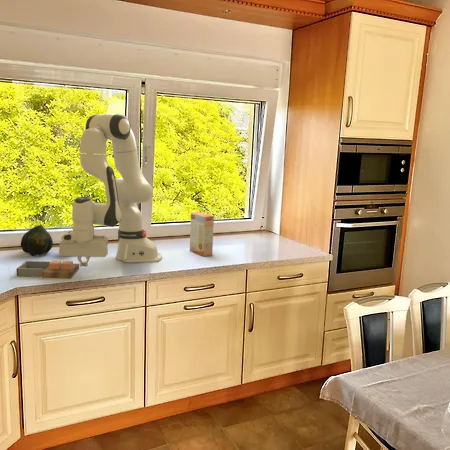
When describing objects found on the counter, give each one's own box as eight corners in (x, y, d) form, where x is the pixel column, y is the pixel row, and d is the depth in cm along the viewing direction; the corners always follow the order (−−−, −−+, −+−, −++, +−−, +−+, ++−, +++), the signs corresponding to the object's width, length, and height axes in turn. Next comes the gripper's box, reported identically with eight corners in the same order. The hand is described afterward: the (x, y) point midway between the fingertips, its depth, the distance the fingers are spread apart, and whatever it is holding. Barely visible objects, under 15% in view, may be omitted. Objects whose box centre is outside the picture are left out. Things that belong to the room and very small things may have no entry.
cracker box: (213, 255, 248) (214, 215, 244) (203, 257, 245) (204, 216, 241) (199, 249, 259) (200, 211, 255) (189, 250, 256) (190, 212, 252)
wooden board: (79, 268, 216) (79, 263, 216) (71, 278, 202) (71, 272, 202) (52, 268, 215) (51, 263, 215) (42, 277, 202) (42, 272, 201)
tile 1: (61, 266, 210) (61, 260, 210) (58, 269, 206) (58, 263, 206) (52, 266, 210) (51, 260, 210) (49, 268, 206) (49, 263, 206)
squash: (15, 248, 226) (36, 223, 228) (14, 242, 240) (35, 219, 242) (40, 265, 232) (61, 241, 234) (38, 259, 245) (58, 236, 248)
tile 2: (72, 266, 211) (72, 261, 210) (70, 269, 207) (70, 263, 206) (63, 266, 210) (63, 260, 210) (61, 269, 206) (61, 263, 206)
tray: (51, 269, 214) (51, 261, 214) (43, 277, 203) (42, 269, 202) (26, 268, 213) (26, 260, 213) (16, 276, 202) (16, 268, 201)
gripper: (109, 234, 210) (109, 264, 213) (61, 232, 208) (62, 263, 211) (106, 237, 204) (106, 268, 206) (57, 236, 202) (58, 267, 205)
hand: (84, 266), depth 209 cm, fingers closed
